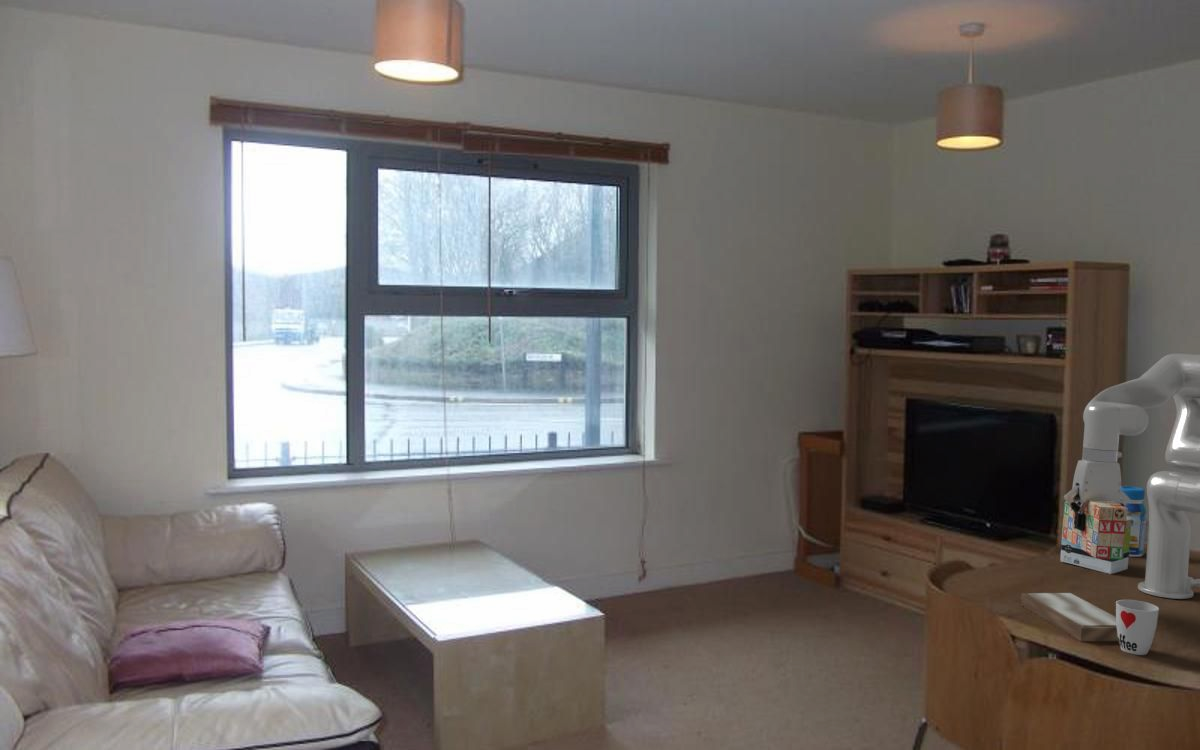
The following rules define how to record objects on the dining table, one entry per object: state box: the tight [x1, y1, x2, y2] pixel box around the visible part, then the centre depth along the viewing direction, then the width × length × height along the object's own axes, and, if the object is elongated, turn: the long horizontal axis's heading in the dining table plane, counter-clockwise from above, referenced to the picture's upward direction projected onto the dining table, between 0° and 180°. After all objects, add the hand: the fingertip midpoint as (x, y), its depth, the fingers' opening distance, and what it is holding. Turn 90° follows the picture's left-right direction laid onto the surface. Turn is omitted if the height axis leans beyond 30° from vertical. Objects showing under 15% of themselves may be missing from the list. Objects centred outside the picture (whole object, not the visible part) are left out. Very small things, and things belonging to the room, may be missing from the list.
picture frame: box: [1020, 592, 1119, 642], centre depth 234 cm, size 13×26×3 cm, turn 5°
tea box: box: [1060, 514, 1131, 575], centre depth 285 cm, size 15×10×15 cm
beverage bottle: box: [1121, 485, 1147, 558], centre depth 300 cm, size 8×8×20 cm
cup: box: [1115, 599, 1160, 656], centre depth 215 cm, size 8×8×10 cm
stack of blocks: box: [1062, 500, 1128, 560], centre depth 241 cm, size 21×6×12 cm, turn 175°
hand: (1094, 529), depth 240 cm, fingers closed on stack of blocks, 6 cm apart
